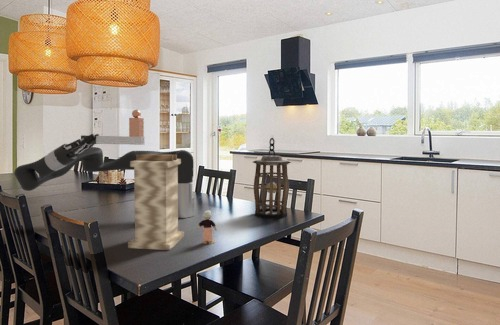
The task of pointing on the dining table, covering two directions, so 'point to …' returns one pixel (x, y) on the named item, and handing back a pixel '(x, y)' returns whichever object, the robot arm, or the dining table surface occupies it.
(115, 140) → the rod
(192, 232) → the dining table surface
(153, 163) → the display stand
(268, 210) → the lantern
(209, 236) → the grandmother figurine
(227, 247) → the dining table surface
